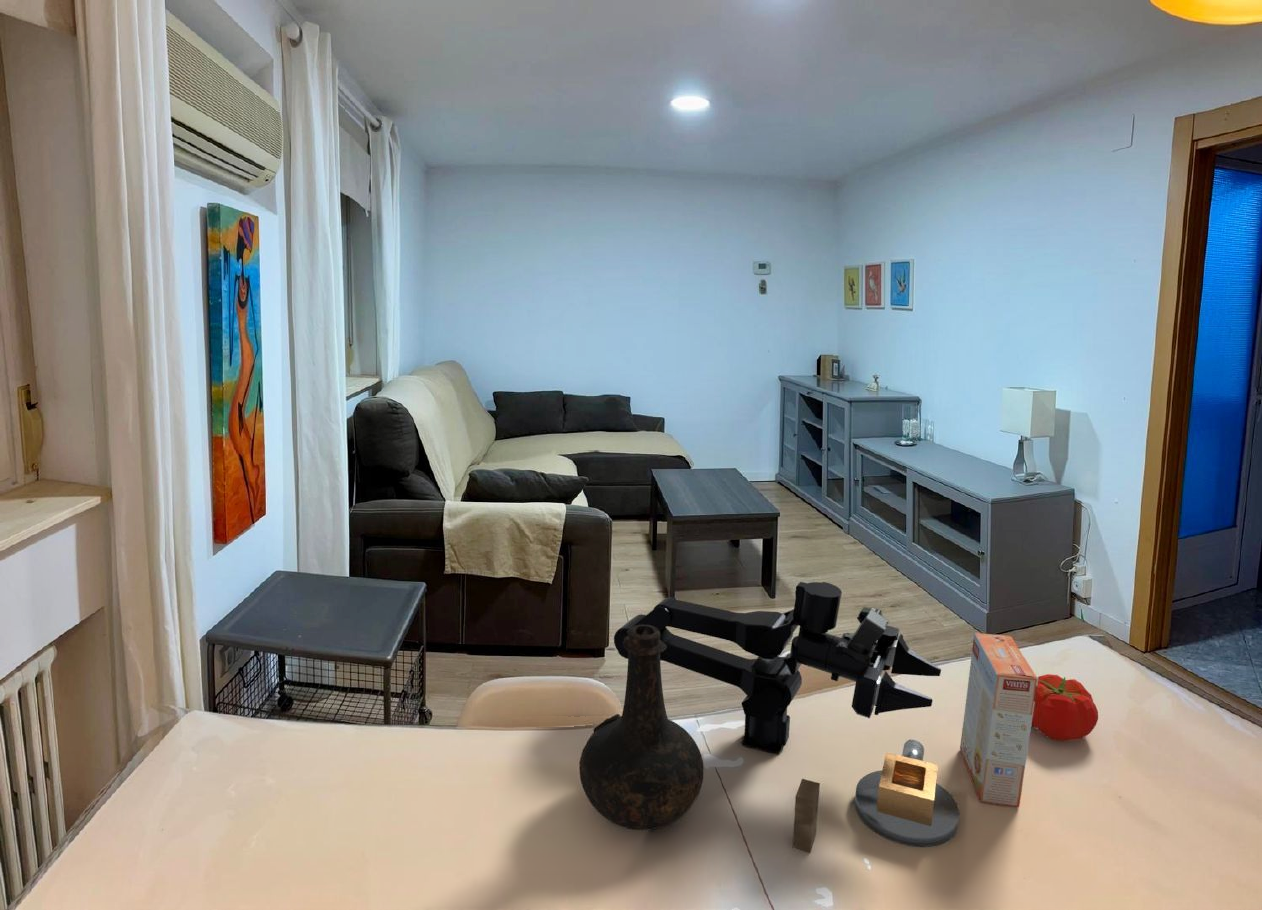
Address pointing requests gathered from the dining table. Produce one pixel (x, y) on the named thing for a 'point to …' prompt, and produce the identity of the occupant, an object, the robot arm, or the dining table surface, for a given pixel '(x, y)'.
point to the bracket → (907, 800)
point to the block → (805, 815)
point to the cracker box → (998, 718)
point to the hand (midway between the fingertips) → (936, 687)
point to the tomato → (1063, 709)
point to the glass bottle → (641, 749)
